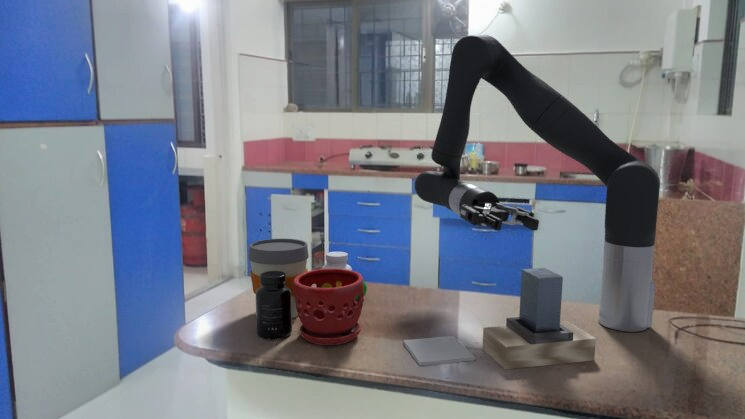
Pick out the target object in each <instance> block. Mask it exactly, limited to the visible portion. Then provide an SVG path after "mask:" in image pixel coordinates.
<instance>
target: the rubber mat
mask: <svg viewBox="0 0 745 419" xmlns="http://www.w3.org/2000/svg"><path fill="white" fill-rule="evenodd" d="M402 343H403V345H404V346H405V348H406V349H407V351H408V352H409V353H410V354H411V356H412V357H413V358H414V360H415V361H416V363H417V364H418V365H419V366H430V365H431V366H432V365H440V364H451V363H452V364H453V363H462V362H473V361H475V360H476V357H475V355H473V353H471V351H469V350H468V348H466V347H465V346H464V344H463V343H461V342H460V340H458V338H456V337H455V336H454V335H450V336H449V335H448V336H438V337H427V338H415V339H404V340H403V339H402Z"/></svg>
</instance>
